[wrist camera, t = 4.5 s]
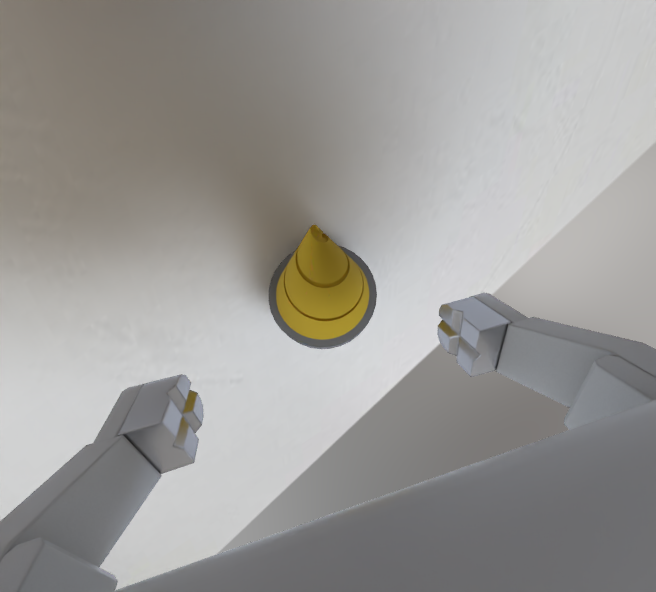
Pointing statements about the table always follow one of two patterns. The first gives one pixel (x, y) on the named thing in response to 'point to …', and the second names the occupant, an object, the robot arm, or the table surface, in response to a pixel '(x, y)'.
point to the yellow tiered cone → (322, 293)
